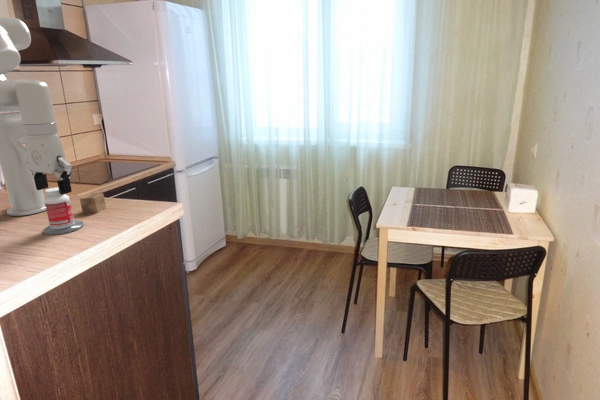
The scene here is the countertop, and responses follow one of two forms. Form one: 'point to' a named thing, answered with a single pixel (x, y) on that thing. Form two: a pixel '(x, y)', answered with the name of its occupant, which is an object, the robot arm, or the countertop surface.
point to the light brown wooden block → (92, 203)
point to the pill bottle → (58, 209)
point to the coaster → (75, 227)
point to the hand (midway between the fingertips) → (54, 190)
